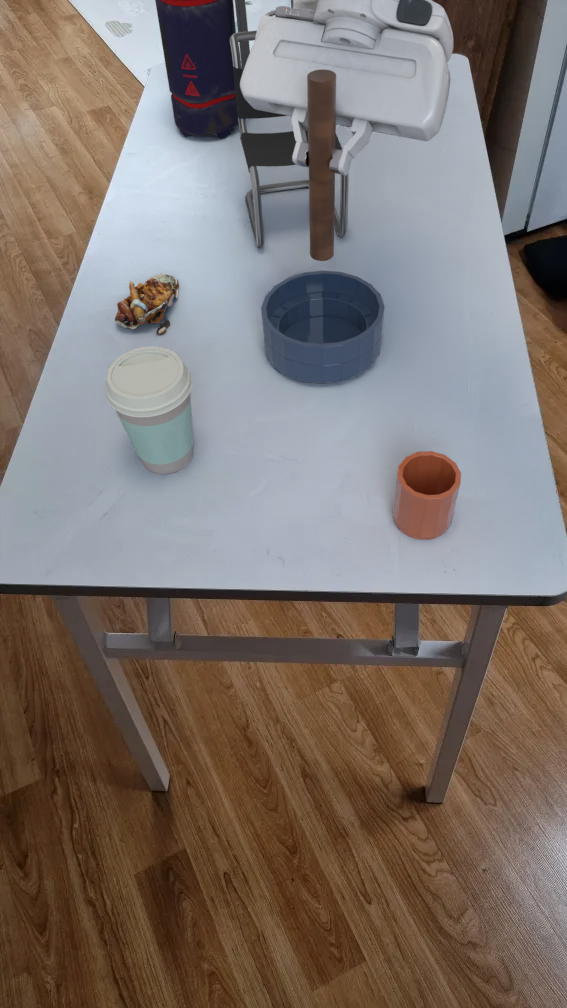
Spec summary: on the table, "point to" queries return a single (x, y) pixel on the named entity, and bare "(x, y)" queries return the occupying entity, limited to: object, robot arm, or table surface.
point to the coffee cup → (154, 406)
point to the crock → (426, 494)
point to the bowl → (322, 326)
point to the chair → (271, 152)
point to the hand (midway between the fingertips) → (319, 168)
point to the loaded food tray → (148, 302)
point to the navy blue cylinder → (202, 62)
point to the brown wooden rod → (321, 161)
